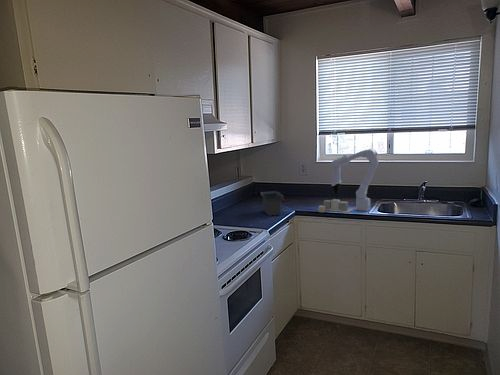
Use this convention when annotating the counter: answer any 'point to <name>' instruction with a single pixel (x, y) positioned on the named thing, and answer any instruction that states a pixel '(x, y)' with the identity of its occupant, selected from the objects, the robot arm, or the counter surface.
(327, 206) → the din rail
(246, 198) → the counter surface
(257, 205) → the counter surface
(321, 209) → the block
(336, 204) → the block
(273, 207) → the storage bin
